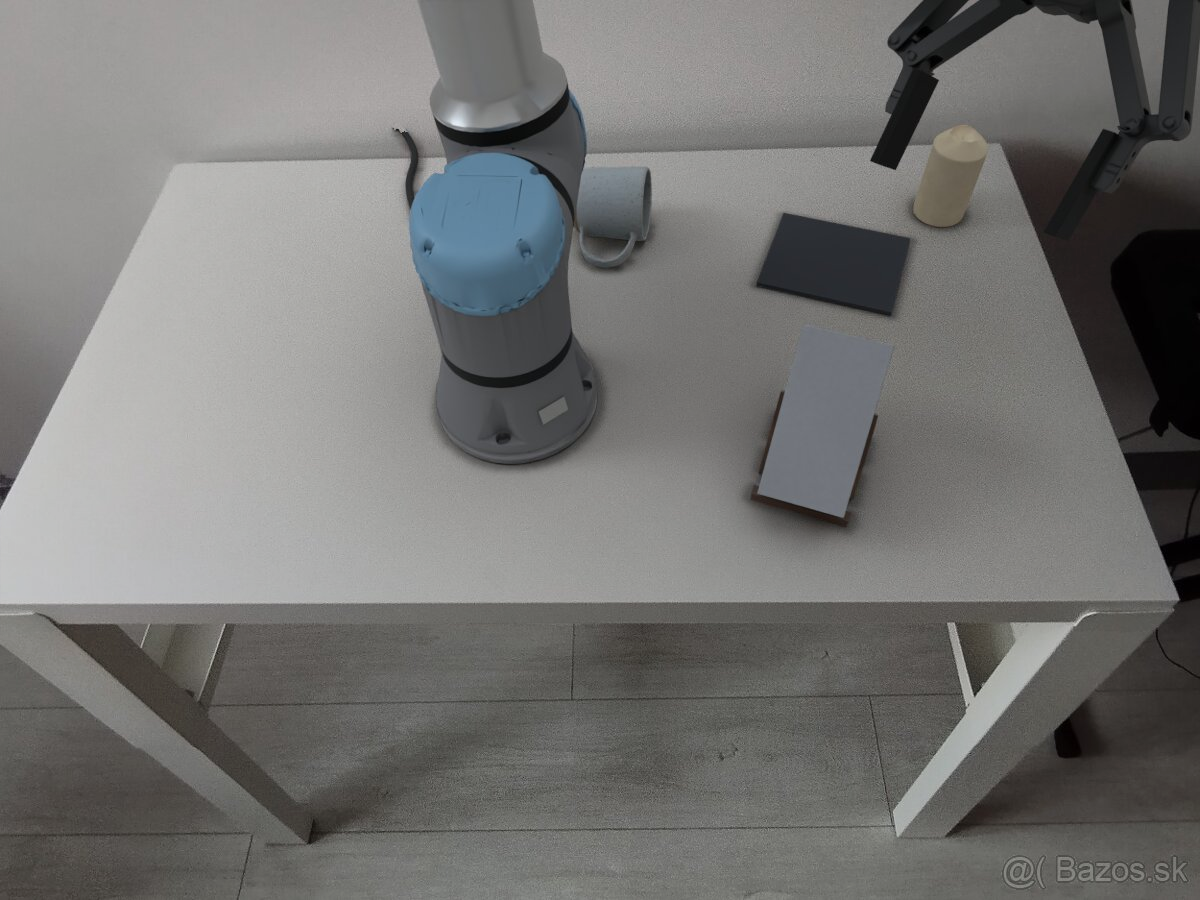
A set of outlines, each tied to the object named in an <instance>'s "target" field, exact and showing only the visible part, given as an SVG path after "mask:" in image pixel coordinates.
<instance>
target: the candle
mask: <svg viewBox="0 0 1200 900" xmlns="http://www.w3.org/2000/svg"><path fill="white" fill-rule="evenodd" d="M989 149H990V148H989V145H988V143H987V141H986V140H985V138H984V136H982V135H981V134H980V133H979V132H978V131H977V130H976V129H974V128H973V126H970V125H969V124H961V125H955V126H953V127H950V128H949V129H947V130H945V131H943V132H941V133H939V134H937V135H936V136H935V137H934V140H933V143H932V145H931V149H930V152H929V155H928V157H927V160H926V161H927V162H926V165H925V167H924V170H923V173H922V177H921V180H920V184H919V187H918V190H917V192H916V195H915V199H914V203H913V208H912V210H913V214H914V215H915V217H916V218H917V219H918V220H919V221H920V222H922V223H923V224H926V225H929V226H932V227H937V228H948V227H953V226H955V225H957V224H958V223H960V222H961V221H962V219H963V218H964V215H965V213H966V211H967V209H968V206H969V203H970V200H971V198H972V195H973V192H974V190H975V187H976V186H977V185H976V184H977V182H978V180H979V177H980V175H981V172H982V169H983V166H984V163H985V162H986V158H987V156H988V153H989Z"/></svg>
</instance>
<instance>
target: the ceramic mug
mask: <svg viewBox="0 0 1200 900" xmlns="http://www.w3.org/2000/svg"><path fill="white" fill-rule="evenodd" d="M650 169H651V168H650V167H648V166H594V167H593V166H592V167H587V168H583V172H582V174H581V181H580V187H579V194H578V200H577V207H576V214H575V220H574V227H573V229H575V231H576V232H577V233H578V234H579V247H580V250H581V253H582V255H583V257H584V259H585V260H586V261H588V262H589V263H590V264H591V265H593V266H594V267H595V266H596V267H598V268H615V267H617V266H619V265H621V264H622V263H624V262H625V261H626V260H627V259H628V258H629V256H630V254H631V253H632V251H633V249H634V246H635V244H636V242H644V241H646V239H648V235H649V230H650V225H651V217H652V205H653V200H652V199H653V198H652V197H653V187H652V186H653V185H652V173H651V170H650ZM588 236H589V237H598V238H608V239H615V240H616V239H617V240H626V241H628V242H627V244H626V245H625V247H624V248H623V250H622V251H621V252H620V253H618V254H617V255H615V256H613V257H612V258H609V259H602V258H599V257H598V256H597V255H594V254H591V252H590V251H588V250H587V249H586V237H588Z"/></svg>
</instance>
